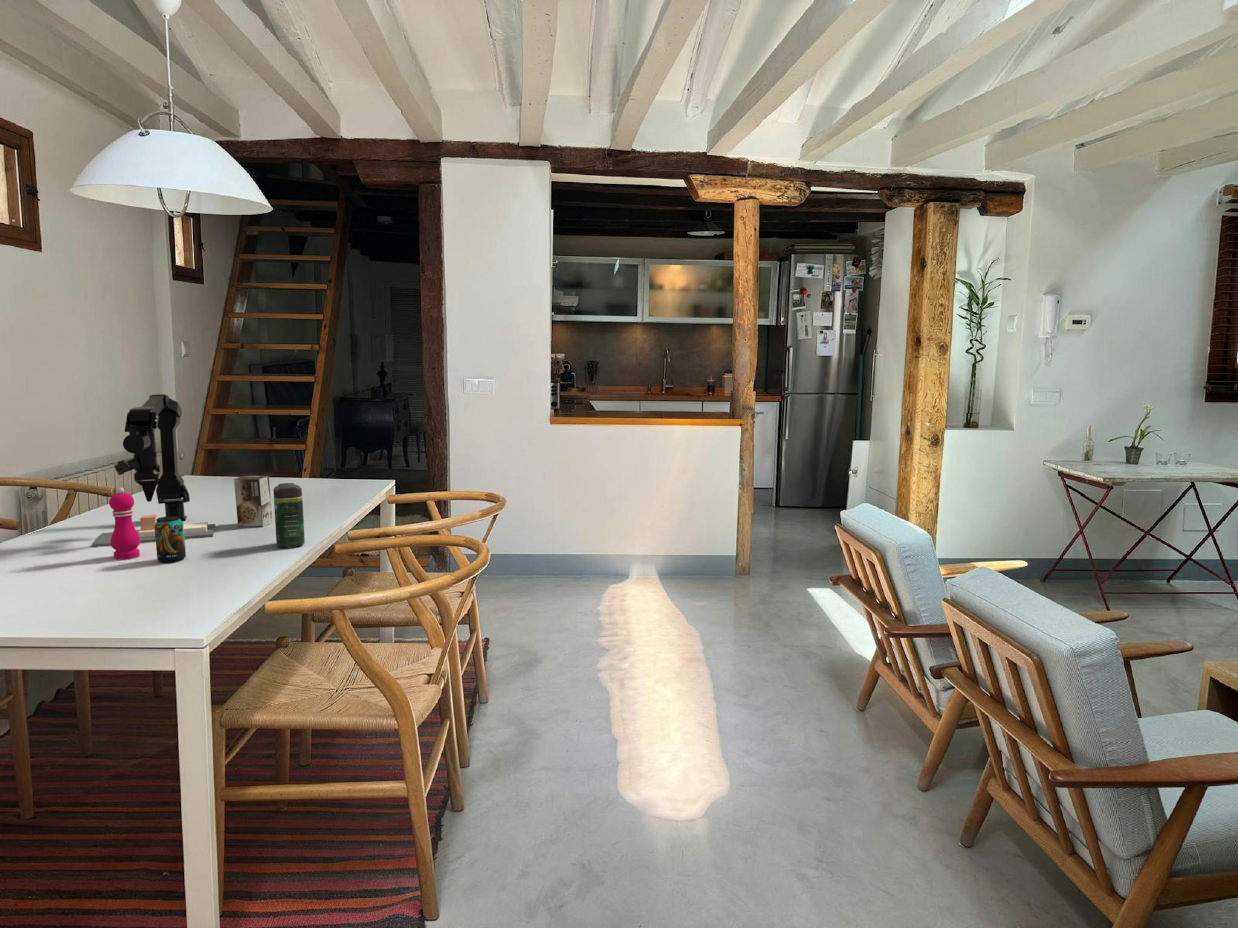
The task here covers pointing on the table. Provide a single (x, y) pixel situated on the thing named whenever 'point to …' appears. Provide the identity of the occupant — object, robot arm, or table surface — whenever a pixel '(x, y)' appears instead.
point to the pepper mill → (124, 527)
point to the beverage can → (170, 539)
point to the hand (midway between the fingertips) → (149, 499)
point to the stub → (147, 525)
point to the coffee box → (253, 500)
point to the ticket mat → (189, 532)
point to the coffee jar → (289, 515)
